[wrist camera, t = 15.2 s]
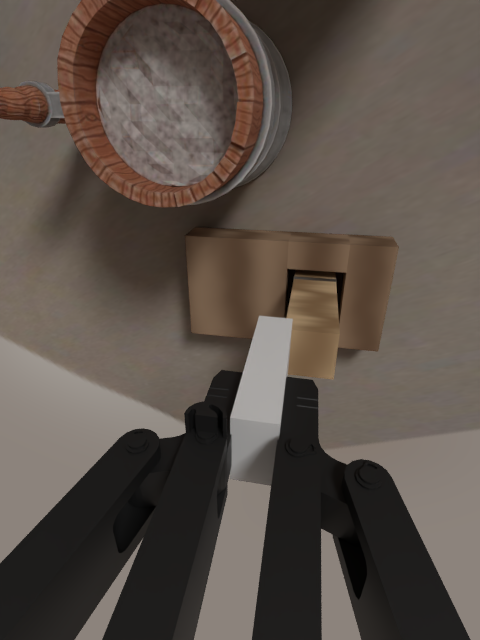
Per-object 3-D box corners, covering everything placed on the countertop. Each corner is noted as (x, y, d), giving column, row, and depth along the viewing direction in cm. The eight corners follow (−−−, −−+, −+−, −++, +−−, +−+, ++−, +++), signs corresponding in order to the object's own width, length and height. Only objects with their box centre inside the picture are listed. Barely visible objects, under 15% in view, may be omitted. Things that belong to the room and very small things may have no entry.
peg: (293, 300, 42) (280, 373, 30) (296, 265, 40) (283, 328, 28) (331, 303, 41) (334, 379, 29) (335, 268, 39) (340, 333, 27)
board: (200, 318, 45) (191, 332, 42) (195, 227, 40) (184, 235, 37) (374, 334, 42) (378, 351, 39) (392, 236, 37) (398, 247, 34)
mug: (287, 191, 37) (267, 230, 24) (105, 184, 40) (0, 215, 27) (298, 8, 30) (278, -76, 17) (80, 18, 34) (-75, -46, 21)
